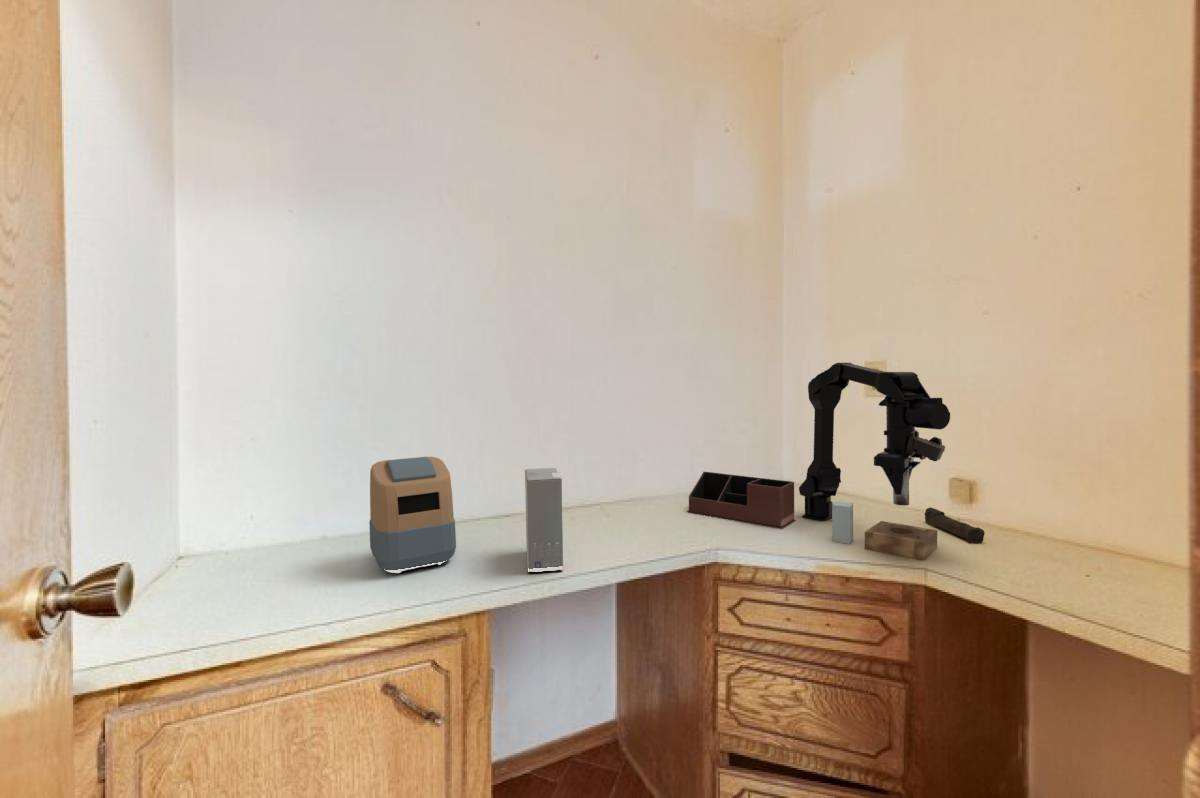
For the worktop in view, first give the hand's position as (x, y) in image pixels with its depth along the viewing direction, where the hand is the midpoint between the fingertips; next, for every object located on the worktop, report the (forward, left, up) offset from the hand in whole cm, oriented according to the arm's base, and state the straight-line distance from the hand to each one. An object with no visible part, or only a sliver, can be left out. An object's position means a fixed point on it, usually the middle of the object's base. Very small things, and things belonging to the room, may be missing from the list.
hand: (900, 493), depth 123 cm
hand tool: (+5, +21, -13) cm, 25 cm away
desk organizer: (-42, 0, -13) cm, 44 cm away
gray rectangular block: (-12, -3, -13) cm, 18 cm away
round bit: (0, 0, -3) cm, 3 cm away
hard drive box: (-56, -61, -13) cm, 84 cm away
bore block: (0, 0, -13) cm, 13 cm away
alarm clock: (-78, -81, -13) cm, 113 cm away
